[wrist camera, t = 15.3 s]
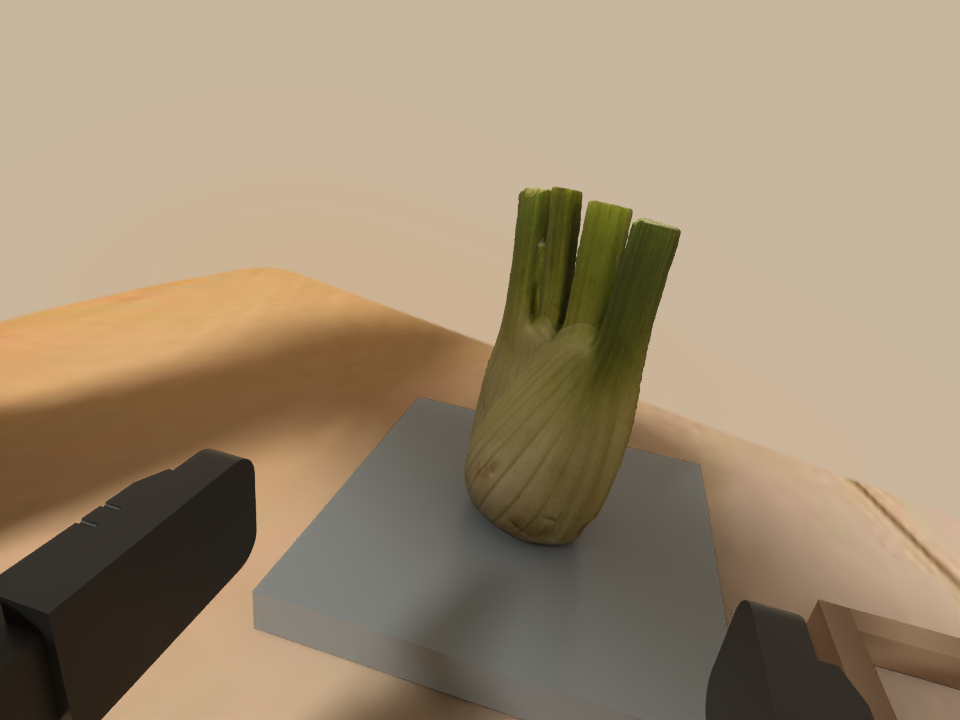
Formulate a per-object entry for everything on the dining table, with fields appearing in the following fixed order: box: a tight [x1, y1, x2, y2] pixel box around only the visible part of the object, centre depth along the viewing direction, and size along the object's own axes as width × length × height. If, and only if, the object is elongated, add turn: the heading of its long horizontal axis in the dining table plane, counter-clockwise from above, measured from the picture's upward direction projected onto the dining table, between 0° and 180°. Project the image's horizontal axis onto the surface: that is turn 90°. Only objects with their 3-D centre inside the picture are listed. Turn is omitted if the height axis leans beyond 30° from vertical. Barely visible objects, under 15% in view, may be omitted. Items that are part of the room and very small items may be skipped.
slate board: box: [253, 397, 728, 720], centre depth 22 cm, size 14×14×2 cm
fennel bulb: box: [464, 187, 681, 545], centre depth 20 cm, size 6×5×12 cm
